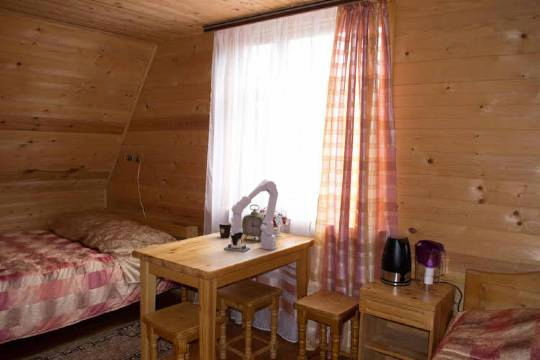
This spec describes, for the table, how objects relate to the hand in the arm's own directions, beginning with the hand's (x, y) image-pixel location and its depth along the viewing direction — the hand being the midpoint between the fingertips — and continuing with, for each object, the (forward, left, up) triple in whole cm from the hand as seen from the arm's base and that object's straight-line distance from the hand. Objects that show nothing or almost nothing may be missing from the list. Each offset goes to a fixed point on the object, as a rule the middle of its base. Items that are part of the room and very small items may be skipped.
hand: (236, 244), depth 286 cm
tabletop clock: (+1, -30, -3) cm, 30 cm away
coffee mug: (+21, -27, -3) cm, 34 cm away
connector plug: (0, 0, -2) cm, 2 cm away
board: (0, 0, -3) cm, 3 cm away
